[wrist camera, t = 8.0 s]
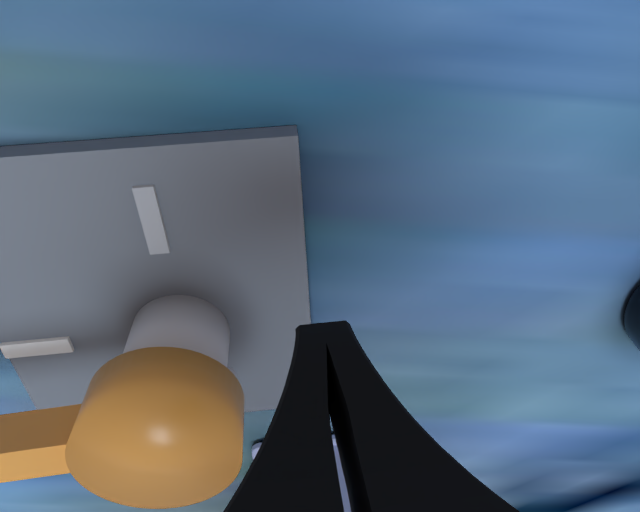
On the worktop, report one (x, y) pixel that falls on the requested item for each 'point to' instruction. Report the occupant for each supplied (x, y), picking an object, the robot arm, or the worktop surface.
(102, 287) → the plate
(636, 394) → the worktop surface
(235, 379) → the crank handle
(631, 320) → the supplement bottle
